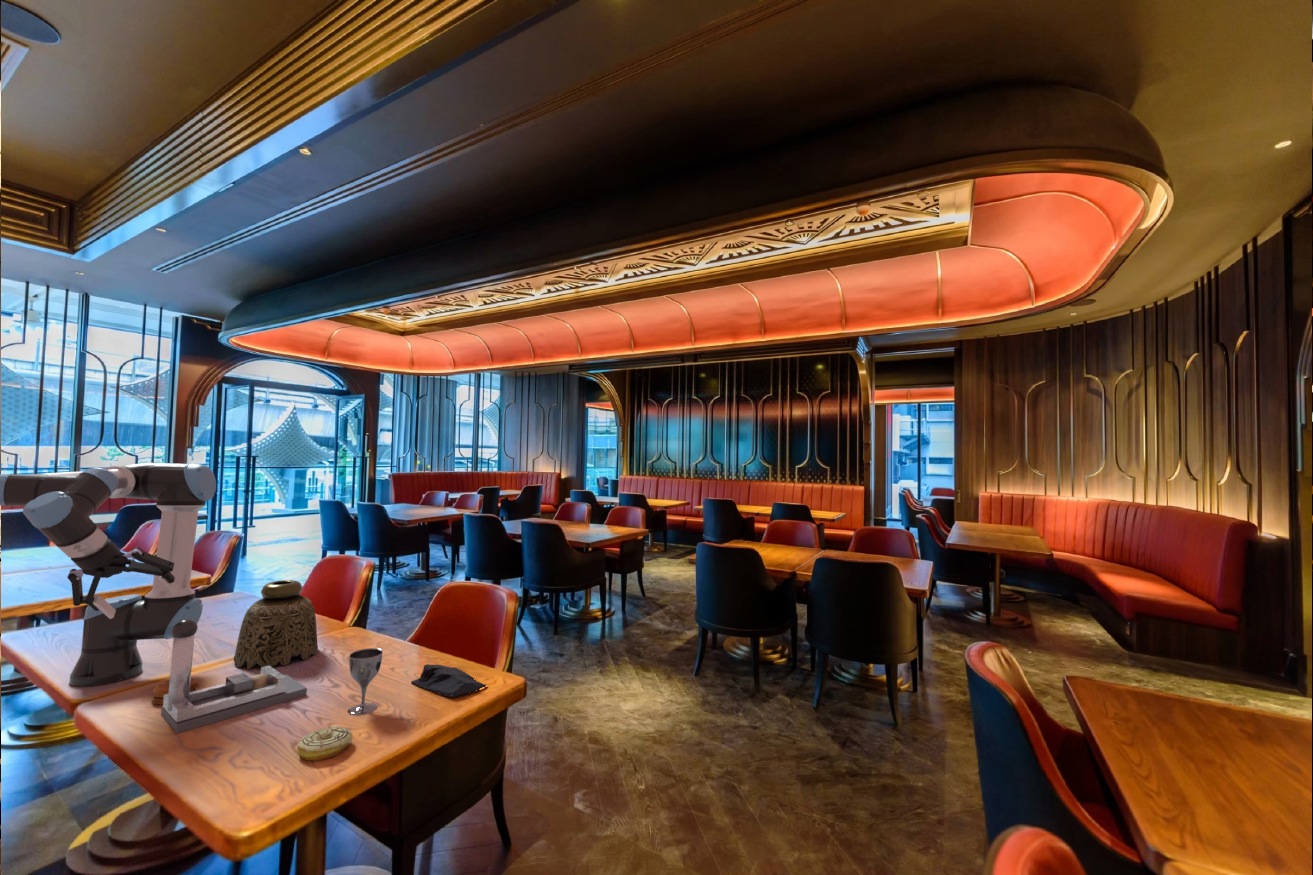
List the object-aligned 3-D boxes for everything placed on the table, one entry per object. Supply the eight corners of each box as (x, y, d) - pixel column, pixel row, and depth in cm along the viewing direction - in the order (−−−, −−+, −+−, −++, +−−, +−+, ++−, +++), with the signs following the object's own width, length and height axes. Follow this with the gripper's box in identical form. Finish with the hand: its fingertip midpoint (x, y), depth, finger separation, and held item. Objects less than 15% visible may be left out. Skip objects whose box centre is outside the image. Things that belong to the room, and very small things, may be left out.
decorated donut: (361, 745, 125) (362, 729, 125) (317, 768, 115) (319, 750, 115) (331, 735, 129) (332, 719, 129) (286, 756, 119) (288, 739, 119)
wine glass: (341, 717, 137) (345, 659, 138) (350, 703, 145) (354, 649, 146) (374, 714, 139) (378, 657, 140) (382, 701, 147) (385, 647, 148)
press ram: (157, 708, 134) (165, 616, 135) (268, 679, 154) (274, 599, 155) (171, 723, 127) (179, 627, 128) (285, 691, 146) (291, 607, 147)
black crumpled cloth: (445, 705, 147) (446, 688, 147) (407, 683, 161) (408, 667, 161) (492, 689, 159) (493, 673, 159) (453, 669, 173) (454, 655, 173)
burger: (185, 704, 142) (187, 686, 142) (142, 708, 139) (144, 690, 139) (204, 689, 151) (205, 673, 151) (164, 693, 148) (165, 676, 148)
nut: (246, 691, 146) (247, 677, 146) (263, 687, 149) (264, 672, 149) (251, 695, 143) (252, 681, 144) (268, 691, 147) (269, 676, 147)
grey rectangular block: (224, 695, 143) (226, 677, 143) (242, 690, 146) (243, 672, 146) (233, 703, 139) (234, 683, 139) (251, 698, 142) (252, 679, 142)
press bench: (161, 714, 135) (161, 706, 135) (285, 680, 158) (286, 674, 158) (176, 733, 127) (177, 725, 127) (306, 695, 149) (306, 687, 149)
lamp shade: (293, 640, 192) (298, 572, 194) (332, 652, 182) (337, 580, 184) (218, 661, 171) (224, 584, 173) (257, 675, 161) (263, 594, 163)
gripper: (15, 581, 119) (81, 635, 131) (149, 535, 128) (199, 590, 141) (26, 560, 124) (89, 614, 136) (155, 517, 134) (202, 572, 146)
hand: (145, 602), depth 139 cm, fingers open, 13 cm apart
